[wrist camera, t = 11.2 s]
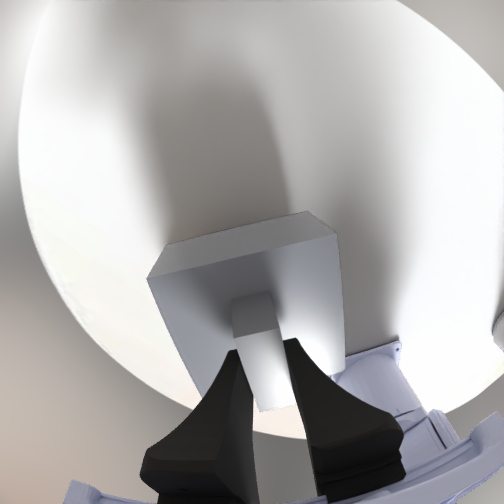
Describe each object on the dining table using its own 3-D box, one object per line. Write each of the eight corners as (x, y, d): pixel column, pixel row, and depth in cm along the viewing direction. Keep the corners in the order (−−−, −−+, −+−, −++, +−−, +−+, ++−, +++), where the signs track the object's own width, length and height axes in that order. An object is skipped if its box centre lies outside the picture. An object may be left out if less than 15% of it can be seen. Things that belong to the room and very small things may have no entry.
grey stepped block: (323, 327, 20) (362, 404, 13) (207, 354, 20) (203, 440, 13) (307, 211, 17) (366, 256, 10) (166, 244, 17) (127, 313, 9)
